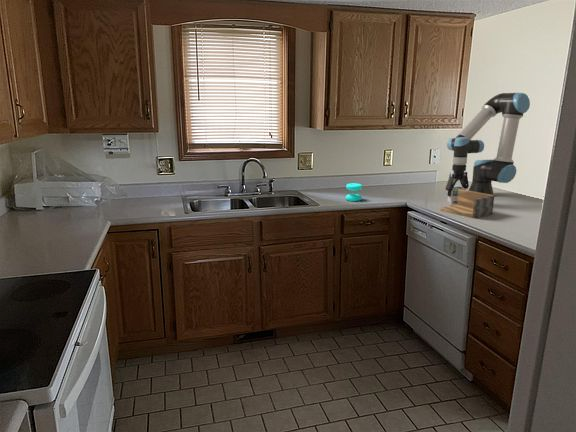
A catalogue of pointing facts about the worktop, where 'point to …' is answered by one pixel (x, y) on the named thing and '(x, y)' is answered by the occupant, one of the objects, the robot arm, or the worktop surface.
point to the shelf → (471, 204)
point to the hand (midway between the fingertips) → (456, 200)
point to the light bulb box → (455, 194)
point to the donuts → (354, 188)
